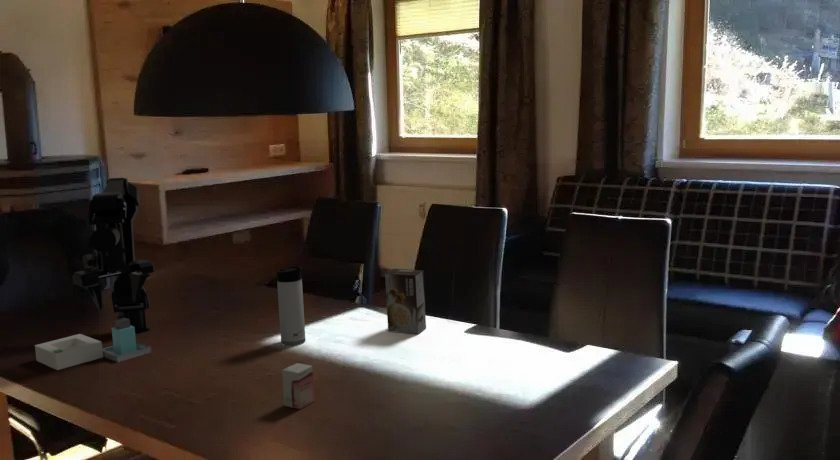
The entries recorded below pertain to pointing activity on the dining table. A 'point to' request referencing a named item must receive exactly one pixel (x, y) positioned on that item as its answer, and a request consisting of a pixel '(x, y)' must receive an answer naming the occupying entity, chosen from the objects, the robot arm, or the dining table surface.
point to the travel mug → (291, 306)
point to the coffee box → (405, 301)
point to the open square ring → (118, 358)
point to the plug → (123, 336)
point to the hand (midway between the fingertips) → (117, 306)
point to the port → (68, 351)
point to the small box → (298, 385)
